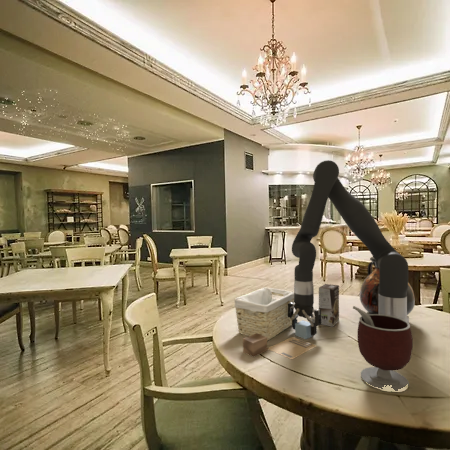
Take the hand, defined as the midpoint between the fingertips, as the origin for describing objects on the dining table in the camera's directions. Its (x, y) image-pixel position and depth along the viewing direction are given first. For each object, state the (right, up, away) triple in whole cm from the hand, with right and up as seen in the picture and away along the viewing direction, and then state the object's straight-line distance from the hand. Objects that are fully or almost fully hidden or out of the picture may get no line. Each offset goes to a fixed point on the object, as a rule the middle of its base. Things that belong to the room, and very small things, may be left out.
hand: (303, 331), depth 118 cm
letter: (-7, -2, -10) cm, 13 cm away
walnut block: (-21, -2, -13) cm, 24 cm away
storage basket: (-14, -2, +7) cm, 16 cm away
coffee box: (+15, -1, +14) cm, 20 cm away
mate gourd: (+14, -2, -32) cm, 35 cm away
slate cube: (0, -1, 0) cm, 2 cm away
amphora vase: (+40, 0, +14) cm, 43 cm away
